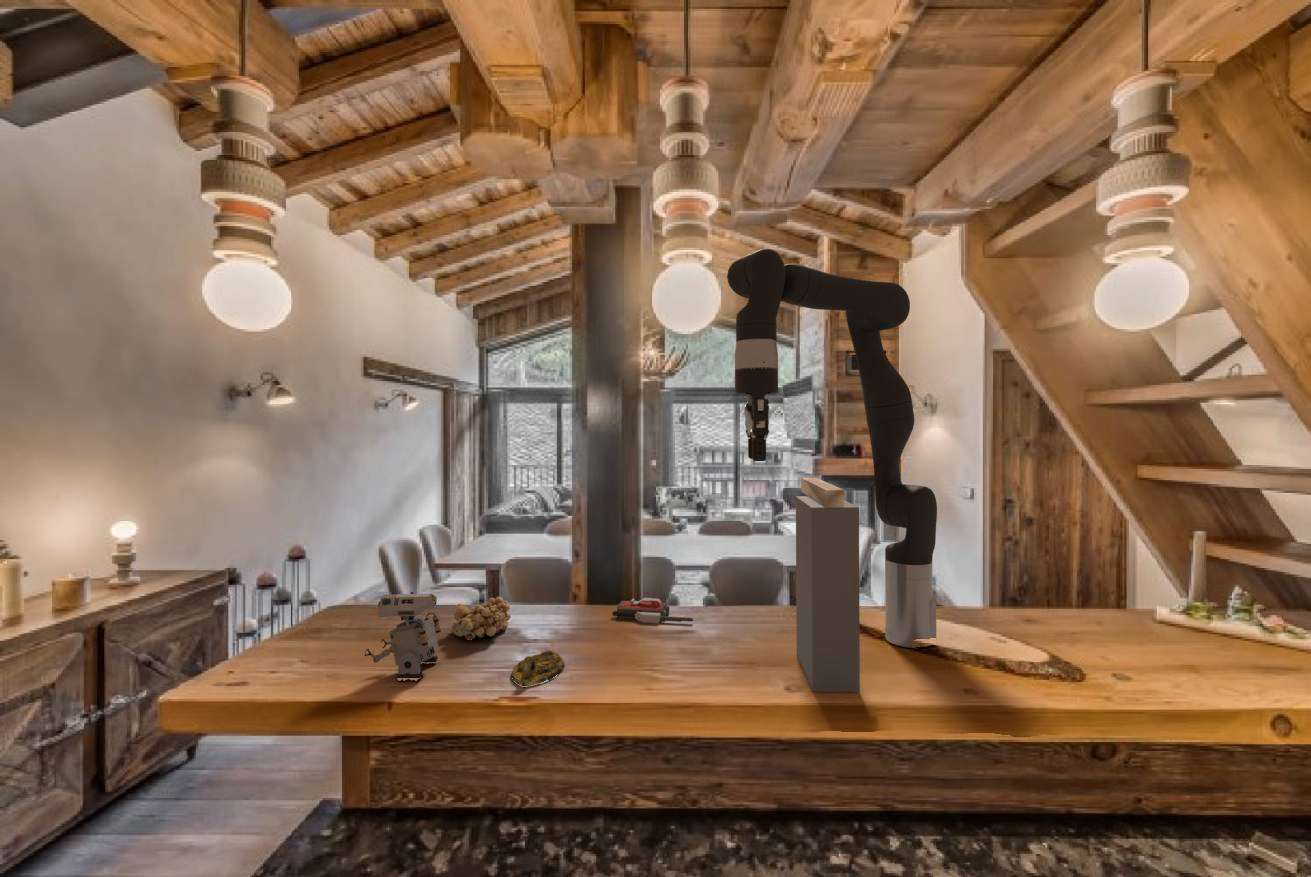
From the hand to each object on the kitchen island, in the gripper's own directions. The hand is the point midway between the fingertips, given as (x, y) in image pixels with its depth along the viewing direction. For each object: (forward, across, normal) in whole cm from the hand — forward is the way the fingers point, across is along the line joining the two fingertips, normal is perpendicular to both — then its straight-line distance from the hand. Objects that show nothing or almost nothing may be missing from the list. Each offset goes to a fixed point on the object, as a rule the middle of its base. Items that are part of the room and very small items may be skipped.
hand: (756, 459), depth 104 cm
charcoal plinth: (+40, +6, -13) cm, 43 cm away
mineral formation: (+41, +22, +59) cm, 75 cm away
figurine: (+41, +3, +66) cm, 77 cm away
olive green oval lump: (+41, +5, +41) cm, 58 cm away
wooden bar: (+8, +10, -13) cm, 18 cm away
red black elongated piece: (+41, +37, +21) cm, 59 cm away
